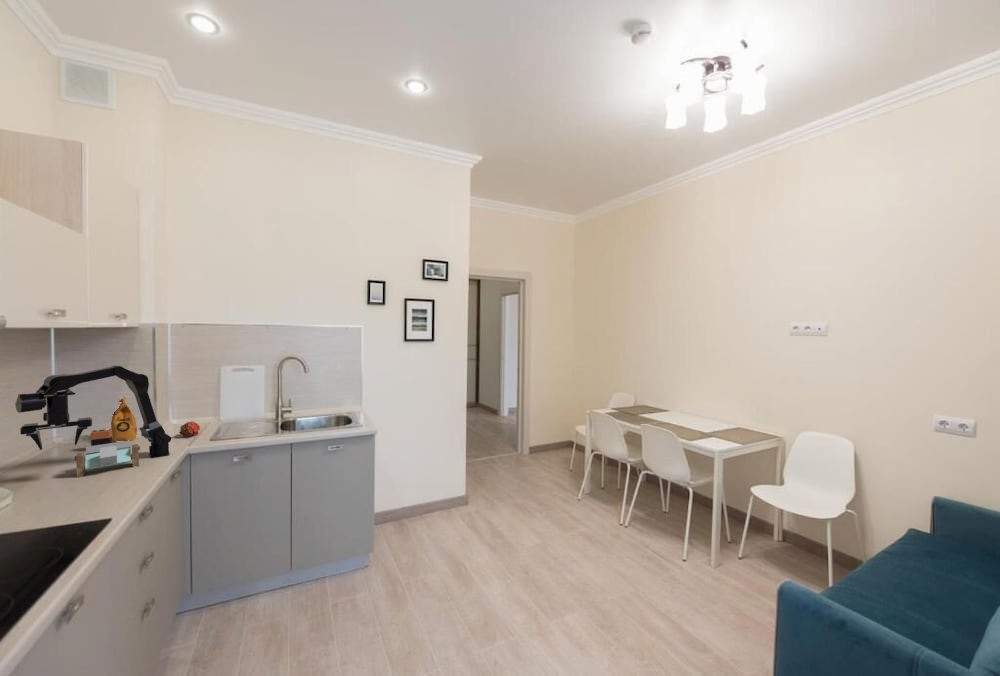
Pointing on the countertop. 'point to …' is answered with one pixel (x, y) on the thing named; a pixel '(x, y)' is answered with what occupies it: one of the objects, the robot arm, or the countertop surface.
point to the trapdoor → (94, 451)
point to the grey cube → (108, 455)
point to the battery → (101, 436)
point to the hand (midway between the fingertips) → (58, 447)
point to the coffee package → (123, 423)
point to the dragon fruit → (189, 429)
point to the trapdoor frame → (81, 463)
